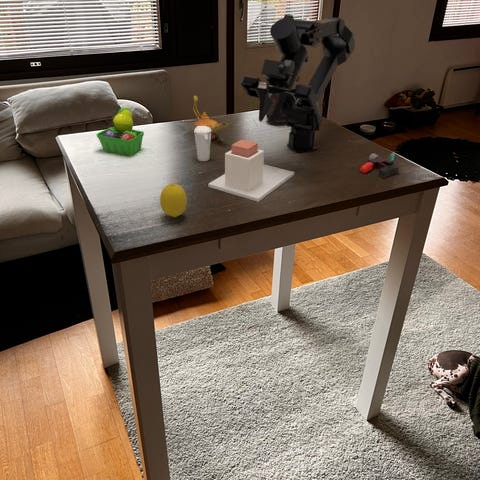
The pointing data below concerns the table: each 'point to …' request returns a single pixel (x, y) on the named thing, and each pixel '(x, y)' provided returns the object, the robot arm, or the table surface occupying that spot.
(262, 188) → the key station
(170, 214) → the lemon
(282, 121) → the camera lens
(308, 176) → the table surface
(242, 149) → the salmon pink square block
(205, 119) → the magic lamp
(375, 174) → the table surface
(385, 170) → the toy gun
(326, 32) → the robot arm
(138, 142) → the fruit basket
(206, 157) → the takeaway coffee cup
